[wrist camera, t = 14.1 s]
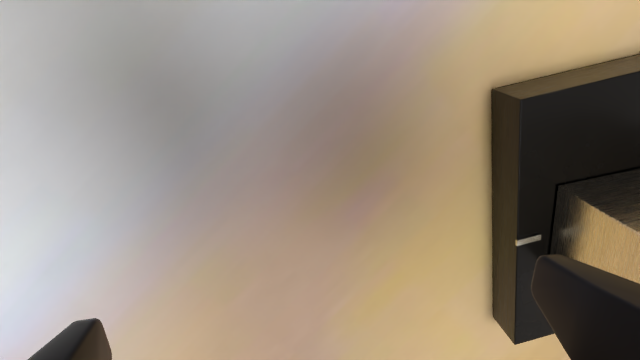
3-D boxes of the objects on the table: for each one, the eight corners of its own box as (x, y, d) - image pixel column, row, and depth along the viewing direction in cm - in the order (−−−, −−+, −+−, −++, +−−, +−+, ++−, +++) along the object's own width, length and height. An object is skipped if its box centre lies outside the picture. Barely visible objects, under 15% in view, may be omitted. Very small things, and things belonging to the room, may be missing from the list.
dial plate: (489, 89, 21) (520, 101, 19) (735, 30, 22) (795, 34, 20) (491, 317, 28) (514, 347, 26) (679, 265, 29) (718, 289, 26)
